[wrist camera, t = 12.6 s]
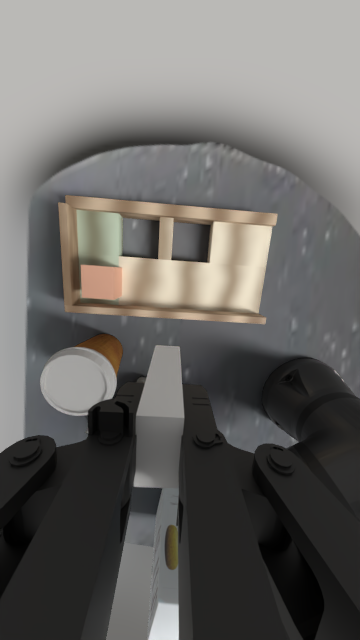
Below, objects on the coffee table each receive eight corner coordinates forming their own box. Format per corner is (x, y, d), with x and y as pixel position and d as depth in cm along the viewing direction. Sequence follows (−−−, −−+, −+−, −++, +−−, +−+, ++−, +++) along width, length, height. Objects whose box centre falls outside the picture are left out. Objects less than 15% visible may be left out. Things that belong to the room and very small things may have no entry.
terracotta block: (122, 267, 32) (114, 267, 27) (121, 296, 33) (114, 299, 28) (93, 265, 31) (80, 264, 27) (93, 294, 33) (81, 297, 28)
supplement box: (204, 489, 46) (222, 609, 30) (195, 519, 48) (207, 647, 32) (162, 483, 45) (156, 604, 29) (154, 514, 47) (145, 644, 31)
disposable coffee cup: (79, 321, 36) (35, 346, 24) (134, 328, 37) (116, 356, 25) (77, 371, 38) (36, 415, 27) (129, 376, 39) (111, 422, 27)
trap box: (266, 219, 33) (284, 210, 28) (251, 316, 37) (265, 323, 32) (76, 203, 32) (57, 189, 26) (81, 305, 35) (64, 311, 30)
